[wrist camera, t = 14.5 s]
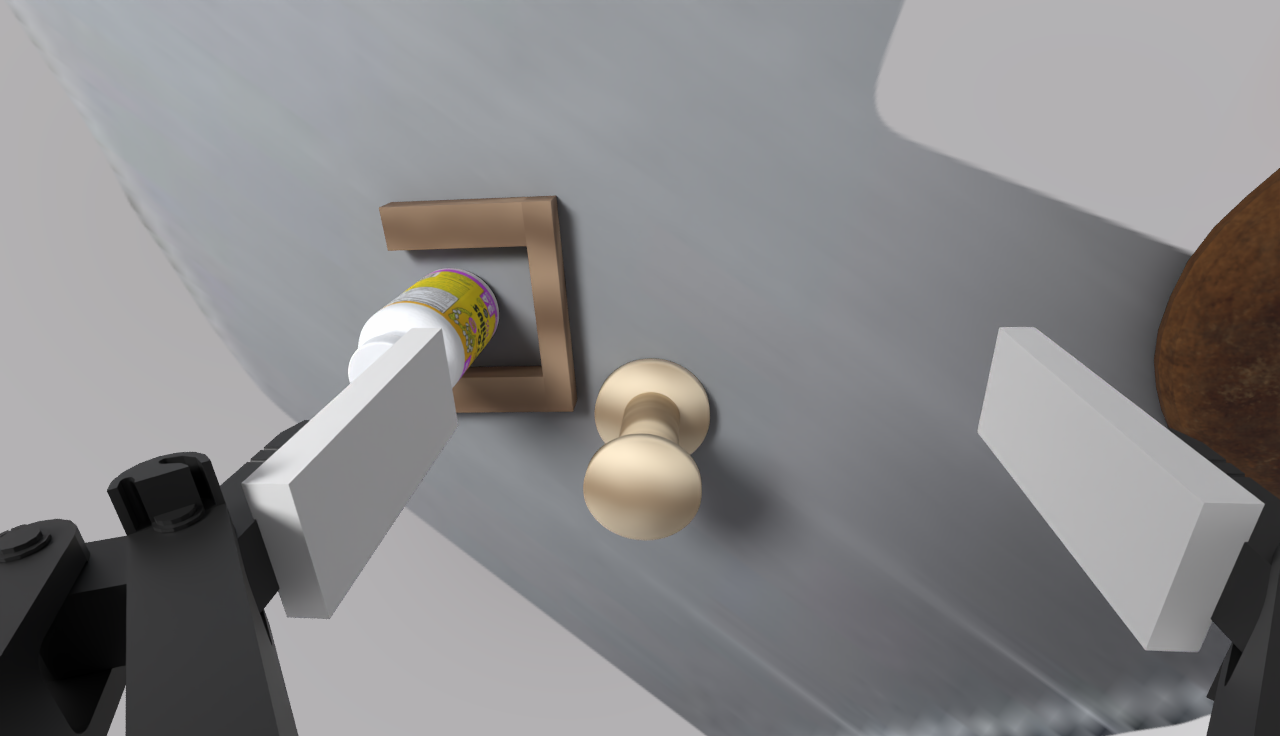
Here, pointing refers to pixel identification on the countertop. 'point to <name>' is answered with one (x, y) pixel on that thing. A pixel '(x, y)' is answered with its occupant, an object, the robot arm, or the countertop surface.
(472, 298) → the supplement bottle
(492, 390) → the notch board
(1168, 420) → the bread
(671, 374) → the bobbin
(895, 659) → the countertop surface
